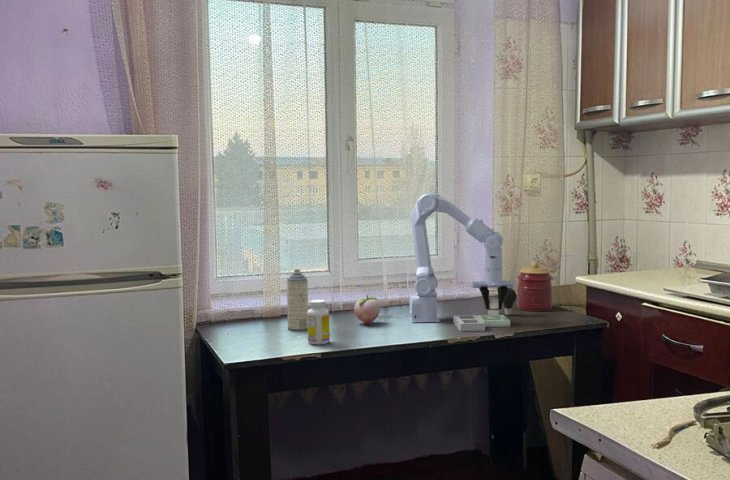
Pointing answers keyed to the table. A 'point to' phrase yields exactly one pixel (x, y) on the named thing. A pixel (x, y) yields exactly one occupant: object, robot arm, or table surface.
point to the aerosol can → (297, 301)
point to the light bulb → (509, 301)
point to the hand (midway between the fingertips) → (493, 308)
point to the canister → (534, 288)
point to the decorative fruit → (367, 309)
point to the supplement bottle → (318, 323)
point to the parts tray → (495, 321)
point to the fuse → (493, 309)
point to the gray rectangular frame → (468, 323)
